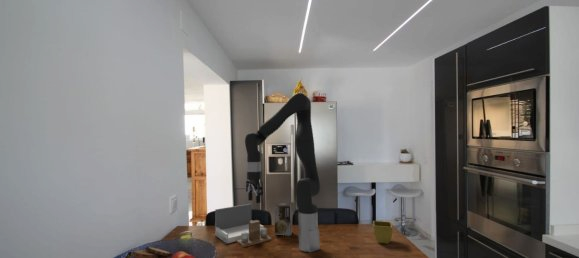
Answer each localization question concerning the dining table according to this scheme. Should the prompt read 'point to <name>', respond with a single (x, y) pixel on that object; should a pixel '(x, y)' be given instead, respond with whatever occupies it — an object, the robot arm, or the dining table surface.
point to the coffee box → (283, 219)
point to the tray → (254, 235)
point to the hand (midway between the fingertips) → (254, 201)
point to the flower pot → (383, 231)
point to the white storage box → (232, 222)
